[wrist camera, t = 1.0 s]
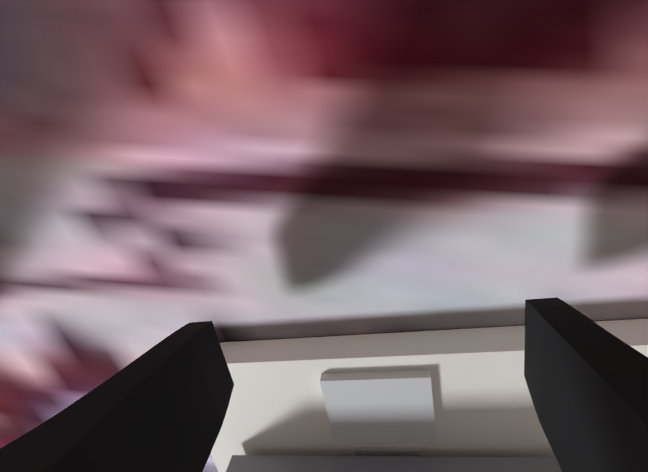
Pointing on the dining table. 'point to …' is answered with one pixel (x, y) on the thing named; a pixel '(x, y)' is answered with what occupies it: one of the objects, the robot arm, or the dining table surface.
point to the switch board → (388, 394)
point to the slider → (389, 464)
